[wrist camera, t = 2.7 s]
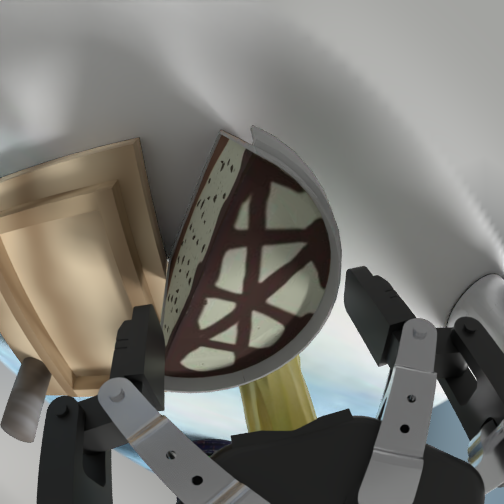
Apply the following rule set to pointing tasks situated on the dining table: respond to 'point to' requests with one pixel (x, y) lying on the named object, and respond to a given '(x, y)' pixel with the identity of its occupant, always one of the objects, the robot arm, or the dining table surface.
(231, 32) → the dining table surface
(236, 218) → the half lattice cake
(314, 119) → the dining table surface
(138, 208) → the carrier board
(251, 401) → the vase
